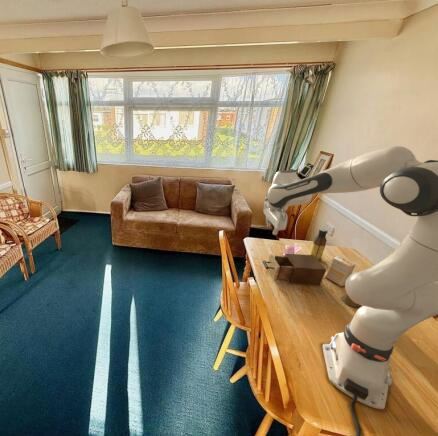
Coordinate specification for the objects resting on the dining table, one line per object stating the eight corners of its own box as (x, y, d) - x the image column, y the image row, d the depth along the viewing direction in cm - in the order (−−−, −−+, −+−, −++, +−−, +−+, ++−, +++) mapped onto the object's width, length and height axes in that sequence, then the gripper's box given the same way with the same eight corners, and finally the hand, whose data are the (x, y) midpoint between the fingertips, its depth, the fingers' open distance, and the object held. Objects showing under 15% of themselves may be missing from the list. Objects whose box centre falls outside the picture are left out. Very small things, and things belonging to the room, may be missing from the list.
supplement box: (346, 284, 120) (356, 264, 114) (341, 287, 118) (350, 266, 112) (330, 275, 127) (339, 255, 121) (324, 277, 125) (333, 257, 119)
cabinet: (289, 283, 121) (295, 267, 116) (280, 268, 132) (285, 253, 127) (319, 285, 119) (326, 269, 114) (307, 270, 130) (313, 255, 126)
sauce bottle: (320, 256, 142) (331, 229, 133) (320, 262, 137) (332, 233, 129) (307, 253, 145) (317, 226, 136) (307, 258, 140) (318, 230, 132)
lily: (284, 251, 149) (280, 241, 145) (305, 251, 141) (302, 240, 137) (282, 265, 142) (278, 255, 138) (305, 266, 134) (301, 254, 130)
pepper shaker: (362, 307, 105) (372, 289, 101) (347, 305, 107) (356, 287, 102) (354, 298, 111) (363, 280, 106) (340, 296, 112) (348, 278, 107)
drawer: (265, 279, 122) (268, 266, 118) (258, 266, 132) (261, 253, 129) (300, 282, 120) (305, 268, 116) (291, 268, 130) (295, 256, 127)
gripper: (294, 213, 98) (286, 240, 104) (276, 196, 117) (270, 221, 123) (279, 212, 99) (271, 239, 105) (263, 196, 117) (258, 220, 123)
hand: (270, 229), depth 114 cm, fingers open, 8 cm apart
